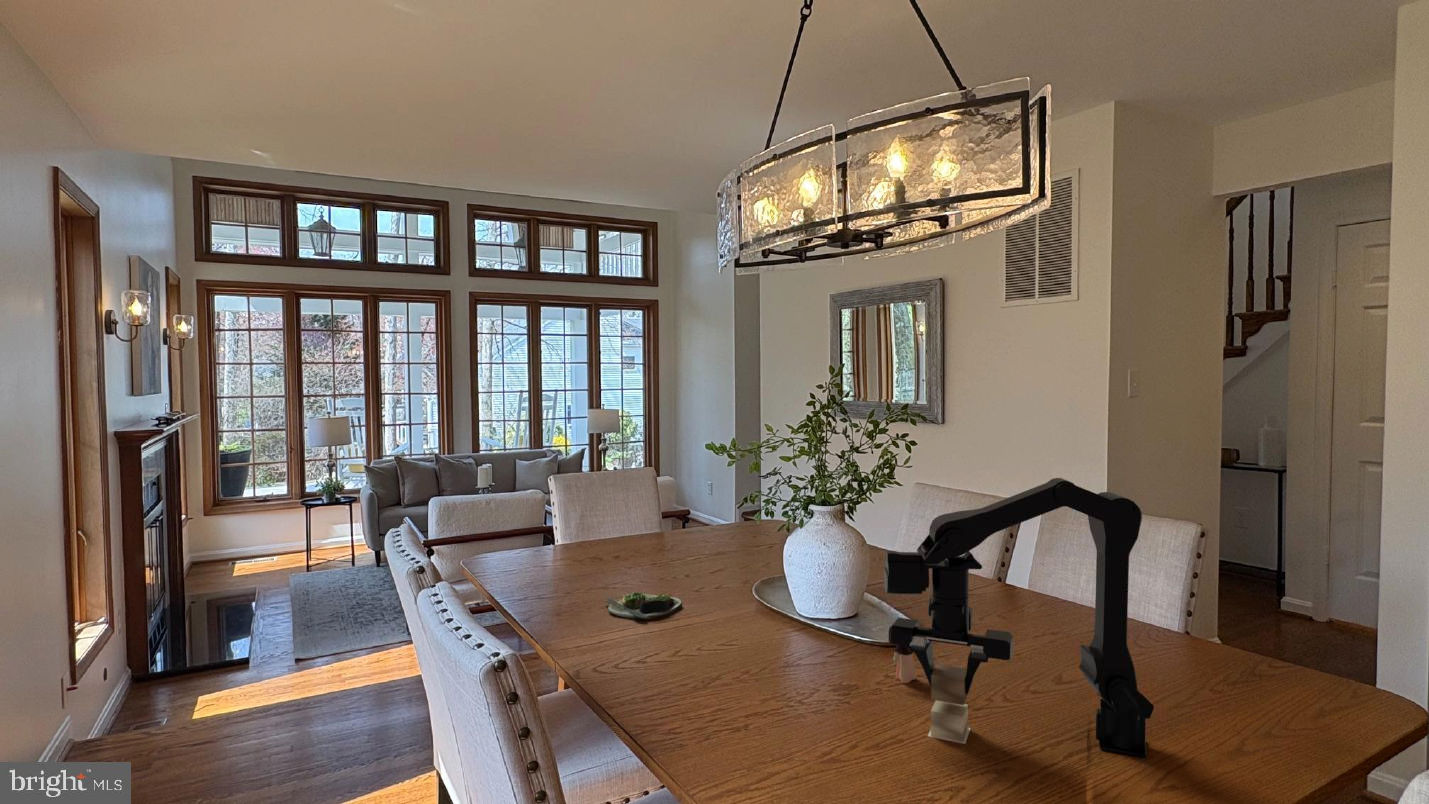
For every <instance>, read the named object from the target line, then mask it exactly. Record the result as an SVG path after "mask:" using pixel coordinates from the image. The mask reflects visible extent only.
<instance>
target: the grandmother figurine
mask: <svg viewBox="0 0 1429 804" xmlns="http://www.w3.org/2000/svg"><path fill="white" fill-rule="evenodd" d="M904 618H905V619H909V618H907V617H904ZM909 646H910V644H909V645H907V646H905V645H898V644H896V647H895V649H894V654H893V658H892V660H893V663H896V670H895V679H896V680H899V681H900V682H901V684H908V683H910V682H912V680H913V681H915V680H916V679H917V675H916V663H915V658H914V654H915V653H914V652H912V651H909Z"/></svg>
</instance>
